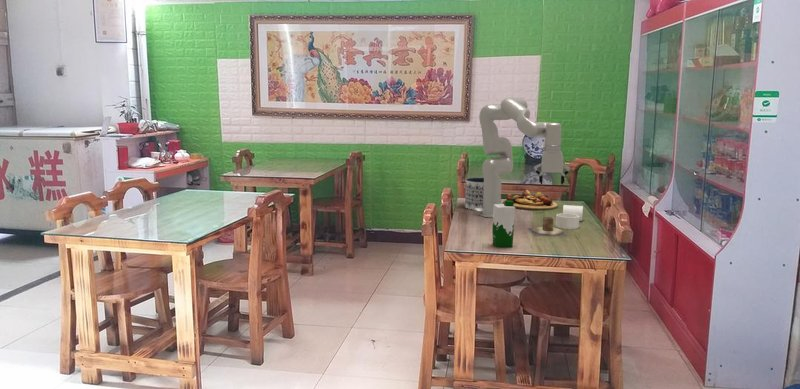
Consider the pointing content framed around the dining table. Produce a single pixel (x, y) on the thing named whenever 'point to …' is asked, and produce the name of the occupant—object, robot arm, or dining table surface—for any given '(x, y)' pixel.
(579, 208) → the mug
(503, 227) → the milk carton
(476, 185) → the planter
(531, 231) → the mat
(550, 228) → the lid
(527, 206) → the wooden plate with food
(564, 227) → the bowl
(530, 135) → the robot arm
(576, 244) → the dining table surface
